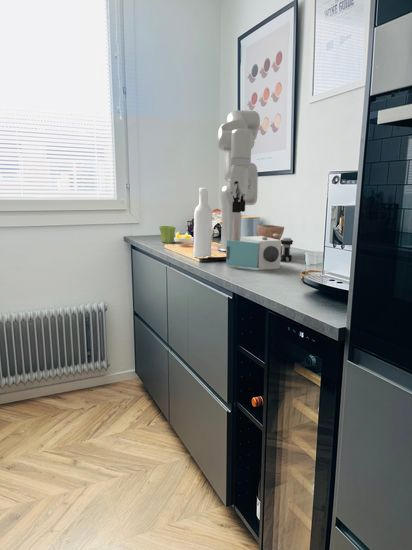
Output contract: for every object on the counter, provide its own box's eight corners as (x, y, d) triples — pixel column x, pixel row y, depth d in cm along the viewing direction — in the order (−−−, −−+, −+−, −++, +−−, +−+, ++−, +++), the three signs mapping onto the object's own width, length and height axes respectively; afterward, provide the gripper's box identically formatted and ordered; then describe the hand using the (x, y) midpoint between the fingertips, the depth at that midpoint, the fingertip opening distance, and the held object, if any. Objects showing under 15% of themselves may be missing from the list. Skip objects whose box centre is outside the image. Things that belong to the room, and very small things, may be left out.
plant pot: (156, 241, 228) (156, 225, 226) (172, 240, 232) (172, 225, 230) (162, 243, 219) (162, 227, 218) (178, 243, 223) (178, 227, 221)
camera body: (239, 263, 169) (240, 234, 167) (260, 262, 173) (261, 234, 171) (260, 270, 155) (261, 239, 153) (282, 269, 160) (283, 238, 157)
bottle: (196, 258, 177) (198, 187, 171) (190, 255, 184) (191, 187, 178) (214, 258, 180) (215, 188, 174) (207, 255, 187) (208, 187, 181)
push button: (281, 262, 173) (282, 239, 170) (274, 260, 177) (275, 237, 175) (294, 262, 175) (295, 238, 173) (287, 259, 180) (288, 237, 178)
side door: (225, 264, 162) (226, 240, 160) (226, 264, 163) (227, 240, 161) (257, 268, 155) (258, 243, 153) (258, 268, 156) (260, 243, 154)
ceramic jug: (290, 260, 179) (293, 227, 176) (258, 260, 177) (260, 226, 174) (277, 254, 197) (279, 224, 194) (247, 254, 194) (249, 223, 191)
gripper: (236, 164, 164) (235, 210, 168) (224, 162, 148) (222, 212, 152) (255, 164, 162) (253, 211, 166) (244, 162, 146) (242, 213, 150)
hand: (238, 211), depth 159 cm, fingers open, 5 cm apart
